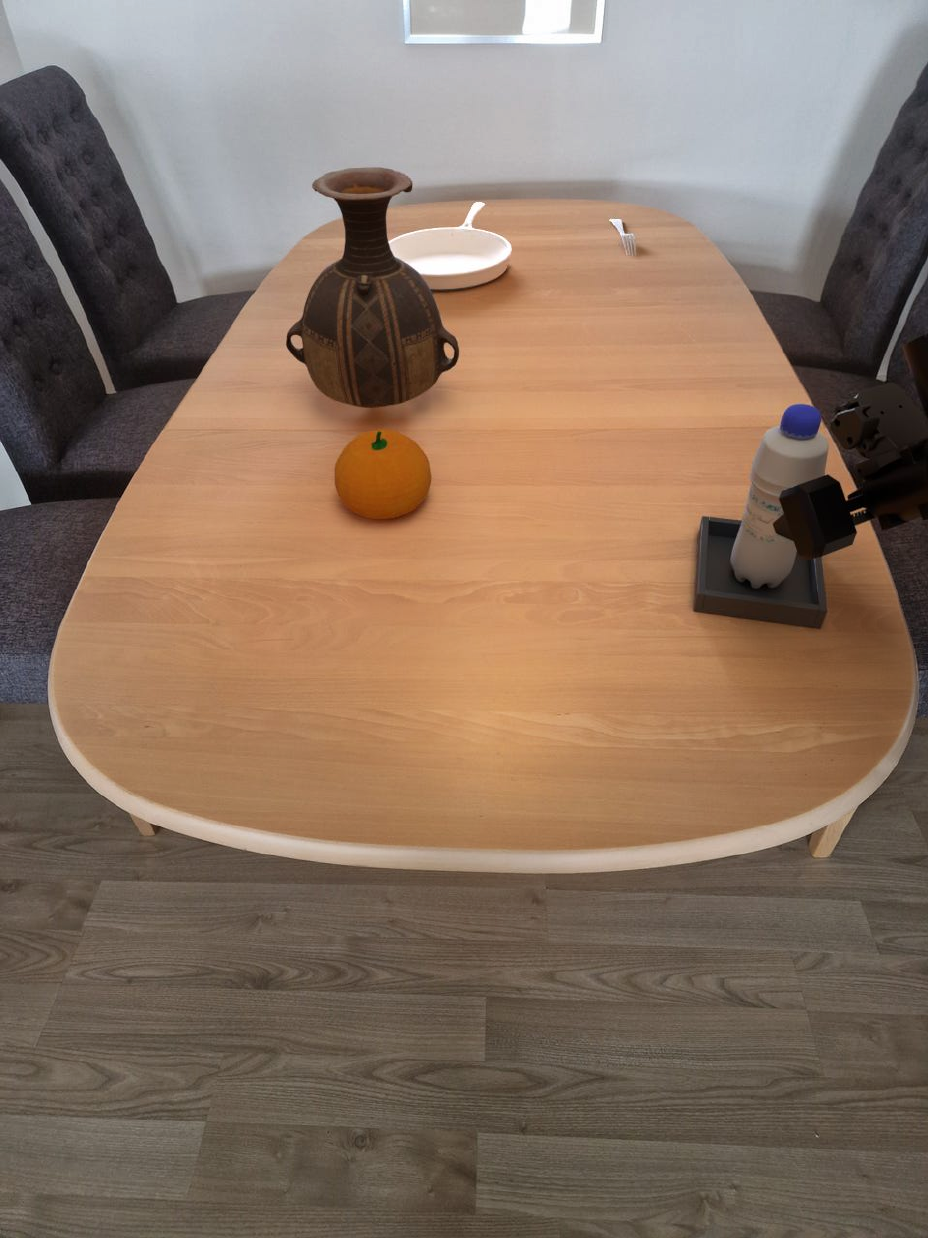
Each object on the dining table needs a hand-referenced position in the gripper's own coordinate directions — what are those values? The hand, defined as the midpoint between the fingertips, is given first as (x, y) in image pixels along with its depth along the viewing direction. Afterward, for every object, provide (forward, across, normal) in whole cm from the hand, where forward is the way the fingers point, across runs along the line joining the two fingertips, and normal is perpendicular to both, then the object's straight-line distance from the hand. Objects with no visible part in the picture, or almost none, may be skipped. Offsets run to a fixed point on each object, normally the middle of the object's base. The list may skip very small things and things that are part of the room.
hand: (813, 513), depth 77 cm
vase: (+50, +22, -34) cm, 65 cm away
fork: (+78, -47, -63) cm, 111 cm away
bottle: (+11, 0, +5) cm, 12 cm away
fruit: (+34, +30, -18) cm, 49 cm away
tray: (+11, 0, +5) cm, 12 cm away
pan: (+84, -13, -68) cm, 109 cm away
